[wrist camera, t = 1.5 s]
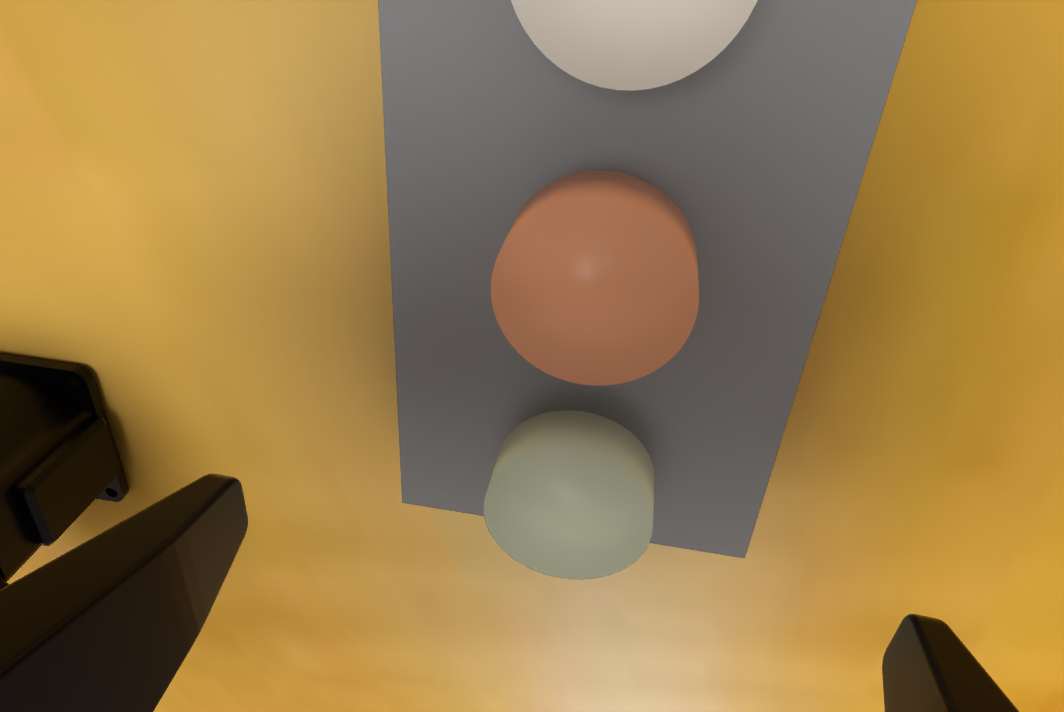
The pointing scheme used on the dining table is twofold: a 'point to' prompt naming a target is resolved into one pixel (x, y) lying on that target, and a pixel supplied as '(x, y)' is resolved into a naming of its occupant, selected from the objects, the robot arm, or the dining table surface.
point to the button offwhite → (632, 37)
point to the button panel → (668, 164)
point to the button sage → (571, 495)
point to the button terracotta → (597, 279)
